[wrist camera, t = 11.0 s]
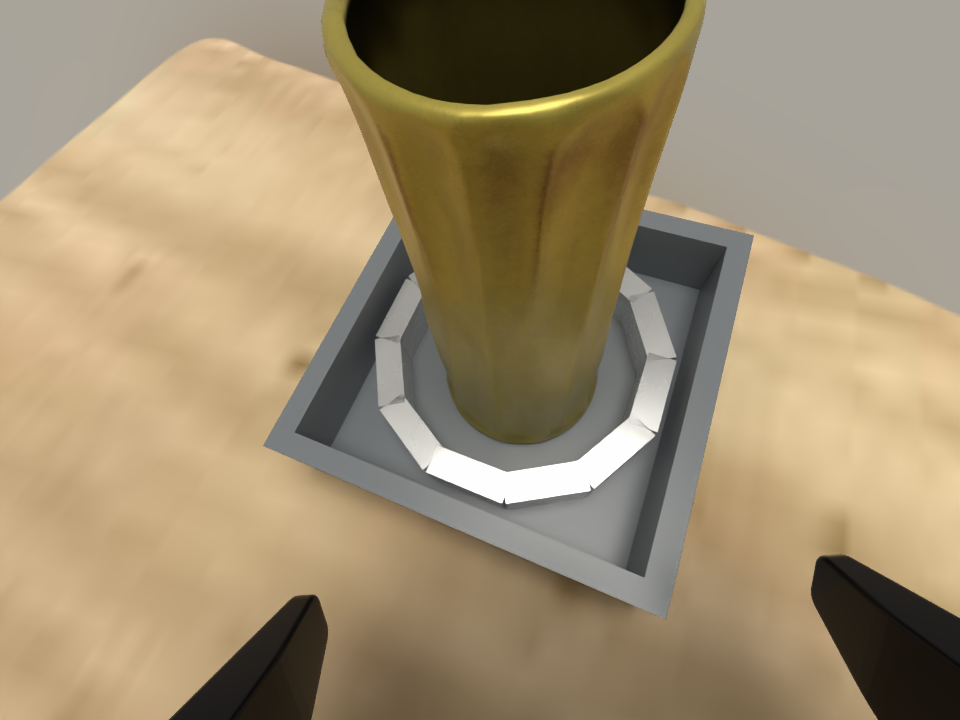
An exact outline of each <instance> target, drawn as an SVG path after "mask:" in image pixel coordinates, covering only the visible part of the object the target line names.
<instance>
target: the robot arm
mask: <svg viewBox="0 0 960 720" xmlns="http://www.w3.org/2000/svg"><path fill="white" fill-rule="evenodd" d="M811 596H812V600H813V603H814V605H815V607H816V609H817V611H818V613H819V615H820V617H821V618H822V620H823V622H824V624H825V626H826V628H827V630H828V632H829V633H830V635H831V637H832V639H833V641H834V643H835V645H836V646H837V648H838V650H839V652H840V654H841V656H842V658H843V660H844V661H845V663H846V665H847V667H848V669H849V671H850V673H851V674H852V676H853V678H854V680H855V682H856V684H857V686H858V687H859V689H860V691H861V693H862V694H863V696H864V698H865V700H866V701H867V703H868V705H869V706H870V708H871V709H872V711H873V713H874V714H875V716H876V717H877V719H878V720H960V618H959V617H957V616H955V615H953V614H952V613H950V612H948V611H946V610H944V609H943V608H941V607H939V606H937V605H935V604H934V603H932V602H930V601H928V600H926V599H925V598H923V597H921V596H919V595H918V594H916V593H914V592H912V591H910V590H909V589H907V588H905V587H903V586H901V585H900V584H898V583H896V582H894V581H892V580H891V579H889V578H887V577H885V576H883V575H882V574H880V573H878V572H876V571H874V570H873V569H871V568H869V567H867V566H865V565H864V564H862V563H860V562H858V561H856V560H855V559H853V558H851V557H849V556H846V555H842V554H838V555H825V556H820V557H819V558H818V559H817V561H816V565H815V570H814V576H813V581H812V587H811ZM327 639H328V626H327V622H326V619H325V616H324V613H323V610H322V607H321V604H320V601H319V599H318V597H317V596H316V595H300V596H295V597H293V598H292V599H290V600H289V601H288V602H287V603H286V604H285V605H284V606H283V607H282V608H281V609H280V610H279V611H278V612H277V613H276V614H275V615H274V616H273V617H272V618H271V619H270V620H269V621H268V622H267V623H266V624H265V625H264V626H263V627H262V628H261V629H260V630H259V631H258V632H257V633H256V634H255V635H254V636H253V637H252V638H251V639H250V640H249V641H248V642H247V643H246V644H245V645H244V646H243V647H242V648H241V649H240V650H239V651H238V652H237V653H236V654H235V655H234V656H233V657H232V658H231V659H230V660H229V661H228V662H227V663H226V664H225V665H224V666H223V667H222V668H221V669H220V670H219V671H218V672H217V673H216V674H215V675H214V676H213V677H212V678H210V679H209V680H208V681H207V682H206V683H205V684H204V685H203V686H202V687H201V688H200V689H199V690H198V691H197V692H196V693H195V694H194V695H193V696H192V697H191V698H190V699H189V700H188V701H187V702H186V703H185V704H184V705H183V706H182V707H181V708H180V709H179V710H178V711H177V712H176V713H175V714H174V715H173V716H172V717H171V718H170V719H169V720H311V718H312V713H313V709H314V704H315V699H316V694H317V689H318V684H319V679H320V674H321V669H322V664H323V659H324V654H325V649H326V644H327Z"/></svg>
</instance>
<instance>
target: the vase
mask: <svg viewBox="0 0 960 720" xmlns="http://www.w3.org/2000/svg"><path fill="white" fill-rule="evenodd" d="M705 7H706V0H325V5H324V9H323V14H322V19H321V24H322V37H323V46H324V50H325V54H326V57H327V59H328V62H329V64H330V66H331V68H332V70H333V72H334V74H335V75H336V77H337V79H338V81H339V83H340V84H341V86H342V88H343V91H344V93H345V95H346V97H347V99H348V102H349V104H350V106H351V109H352V111H353V113H354V115H355V118H356V120H357V123H358V125H359V128H360V130H361V133H362V135H363V138H364V140H365V143H366V146H367V148H368V151H369V154H370V156H371V159H372V162H373V164H374V167H375V170H376V172H377V175H378V178H379V180H380V183H381V186H382V188H383V191H384V194H385V196H386V199H387V202H388V204H389V207H390V209H391V212H392V214H393V217H394V219H395V222H396V224H397V227H398V229H399V232H400V234H401V237H402V240H403V243H404V246H405V248H406V251H407V254H408V256H409V259H410V262H411V264H412V267H413V270H414V273H415V276H416V279H417V282H418V285H419V288H420V292H421V296H422V301H423V307H424V311H425V315H426V318H427V322H428V325H429V328H430V331H431V333H432V336H433V338H434V341H435V344H436V348H437V351H438V354H439V356H440V358H441V361H442V363H443V365H444V367H445V369H446V371H447V375H446V379H447V383H448V387H449V391H450V394H451V396H452V399H453V401H454V403H455V405H456V407H457V409H458V411H459V412H460V413H461V415H462V416H463V417H464V418H465V419H466V420H467V421H468V422H469V423H470V424H471V425H472V426H473V427H475V428H476V429H477V430H479V431H480V432H482V433H483V434H485V435H487V436H489V437H491V438H494V439H496V440H499V441H503V442H508V443H519V444H525V443H537V442H541V441H545V440H548V439H551V438H554V437H556V436H558V435H560V434H561V433H563V432H565V431H566V430H568V429H569V428H571V427H572V426H573V425H574V424H575V423H576V422H577V421H578V420H579V419H580V418H581V417H582V416H583V415H584V413H585V412H586V410H587V409H588V407H589V405H590V403H591V401H592V398H593V396H594V393H595V389H596V385H597V379H598V368H599V366H600V363H601V359H602V357H603V353H604V349H605V346H606V341H607V337H608V333H609V329H610V325H611V320H612V316H613V313H614V310H615V307H616V303H617V300H618V296H619V292H620V288H621V285H622V281H623V277H624V274H625V270H626V266H627V263H628V259H629V256H630V252H631V249H632V245H633V242H634V238H635V235H636V232H637V228H638V225H639V222H640V219H641V215H642V212H643V209H644V206H645V203H646V200H647V197H648V193H649V190H650V187H651V184H652V181H653V178H654V174H655V172H656V168H657V166H658V163H659V160H660V157H661V154H662V151H663V148H664V145H665V142H666V139H667V136H668V133H669V130H670V127H671V124H672V121H673V118H674V115H675V113H676V110H677V107H678V104H679V101H680V98H681V95H682V92H683V89H684V86H685V82H686V80H687V76H688V73H689V69H690V66H691V62H692V58H693V55H694V51H695V48H696V44H697V40H698V38H699V34H700V31H701V28H702V24H703V20H704V14H705Z"/></svg>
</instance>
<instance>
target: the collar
mask: <svg viewBox="0 0 960 720" xmlns="http://www.w3.org/2000/svg"><path fill="white" fill-rule="evenodd" d="M408 277H409V279H405V281H404V283H403V285H402V287H401V289H400V291H399V293H398V295H397V297H396V298H395V300H394V302H393V304H392V306H391V308H390V310H389V312H388V314H387V315H386V317H385V319H384V321H383V323H382V325H381V327H380V329H379V331H378V333H377V334H376V337H377V339H375V351H376V370H377V389H378V407H379V408H380V411H381V413H382V414H383V415H384V417H385V418H386V419H387V421H388V422H389V424H390V425H391V426H392V428H393V429H394V431H395V432H396V433H397V435H398V436H399V438H400V439H401V440H402V442H403V443H404V444H405V446H406V447H407V449H408V450H409V451H410V453H411V454H412V456H413V457H414V458H415V460H416V461H417V463H418V464H419V465H420V467H421V468H422V469H423V470H424V471H425V472H426V473H427V474H428V475H429V476H431V477H432V478H433V479H434V480H436V481H437V482H439V483H442V484H444V485H447V486H449V487H452V488H454V489H457V490H459V491H461V492H464V493H466V494H469V495H471V496H474V497H476V498H478V499H481V500H483V501H486V502H488V503H491V504H493V505H496V506H498V507H500V508H503V509H505V507H506V505H507V507H508V510H510V509H516V508H523V507H529V506H535V505H542V504H548V503H554V502H561V501H567V500H574V499H580V498H584V497H585V496H586V495H587V496H588V495H589V494H590V493H592V492H593V491H594V490H595V489H596V488H597V487H599V486H600V485H601V484H602V483H603V482H604V481H605V480H607V479H608V478H609V477H610V476H611V475H612V474H614V473H615V472H616V471H617V470H618V469H619V468H620V467H622V466H623V465H624V464H625V463H626V462H627V461H628V460H630V459H631V458H632V457H633V456H634V455H635V454H637V453H638V452H639V451H640V450H641V449H642V448H643V447H644V446H645V445H646V444H647V443H648V442H649V441H650V440H651V439H652V438H653V437H655V434H656V433H657V432H658V429H659V425H660V421H661V418H662V414H663V410H664V406H665V403H666V399H667V395H668V391H669V388H670V384H671V380H672V376H673V373H674V369H675V365H676V362H677V361H676V360H675V359H676V354H675V351H674V348H673V345H672V342H671V340H670V337H669V334H668V331H667V328H666V325H665V322H664V319H663V316H662V313H661V310H660V307H659V305H658V302H657V299H656V296H655V293H654V292H651V290H652V288H651V287H649V286H648V285H647V284H646V283H645V282H644V281H642V280H641V279H640V278H639V277H638V276H637V275H635V274H634V273H633V272H632V271H631V270H630V269H629V268H627V267H626V270H625V274H624V277H623V281H622V285H621V288H620V292H619V296H618V300H617V303H616V307H615V310H614V313H613V316H612V317H613V318H614V319H615V320H616V321H617V322H618V323H619V324H620V325H621V329H622V332H623V335H624V339H625V342H626V345H627V349H628V352H629V356H630V359H631V362H632V366H633V369H634V372H635V376H636V378H635V381H634V385H633V388H632V391H631V395H630V398H629V401H628V405H627V408H626V411H625V415H624V418H623V422H622V424H621V425H620V426H619V427H617V428H616V429H615V430H614V431H613V432H612V433H610V434H609V435H608V436H607V437H606V438H604V439H603V440H602V441H601V442H600V443H599V444H597V445H596V446H595V447H594V448H593V449H591V450H590V451H589V452H588V453H587V454H586V455H584V456H583V457H582V458H581V459H580V460H578V461H576V462H570V463H563V464H557V465H551V466H544V467H538V468H532V469H526V470H519V471H513V472H504V471H502V470H499V469H497V468H494V467H492V466H489V465H487V464H484V463H481V462H479V461H476V460H474V459H471V458H469V457H466V456H463V455H461V454H458V453H456V452H453V451H451V450H448V449H446V448H443V447H442V446H441V444H440V443H439V442H438V440H437V439H436V438H435V436H434V435H433V434H432V433H431V431H430V430H429V429H428V427H427V426H426V425H425V423H424V422H423V421H422V419H421V418H420V417H419V415H418V414H417V412H416V400H415V389H414V377H413V366H412V358H413V356H414V354H415V352H416V350H417V348H418V346H419V344H420V342H421V340H422V338H423V336H424V334H425V332H426V330H427V328H428V326H429V325H428V322H427V318H426V315H425V311H424V307H423V301H422V296H421V292H420V288H419V285H418V282H417V279H416V276H415V273H412V274H411V275H409V276H408Z"/></svg>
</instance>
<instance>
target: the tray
mask: <svg viewBox="0 0 960 720" xmlns="http://www.w3.org/2000/svg"><path fill="white" fill-rule="evenodd" d="M753 237H754V235H750V234H745V233H741V232H737V231H733V230H728V229H724V228H720V227H715V226H711V225H707V224H703V223H698V222H694V221H690V220H685V219H681V218H677V217H673V216H668V215H664V214H660V213H655V212H651V211H647V210H643V212H642V215H641V219H640V222H639V225H638V228H637V232H636V235H635V238H634V242H633V245H632V249H631V252H630V256H629V259H628V263H627V266H626V267H627V268H629V269H630V270H631V271H632V272H633V273H634V274H635V275H637V276H638V277H639V278H640V279H641V280H642V281H644V282H645V283H646V284H647V285H648V286H649V287H651V288H652V290H651V292H654V293H655V296H656V299H657V302H658V305H659V307H660V310H661V313H662V316H663V319H664V322H665V325H666V328H667V331H668V334H669V337H670V340H671V342H672V345H673V348H674V351H675V354H676V359H675V360H676V361H677V362H676V365H675V369H674V373H673V376H672V380H671V384H670V388H669V391H668V395H667V399H666V403H665V406H664V410H663V414H662V418H661V421H660V425H659V429H658V432H657V433H656V434H655V437H653V438H652V439H651V440H650V441H649V442H648V443H647V444H646V445H645V446H644V447H643V448H642V449H641V450H640V451H639V452H638V453H637V454H635V455H634V456H633V457H632V458H631V459H630V460H628V461H627V462H626V463H625V464H624V465H623V466H622V467H620V468H619V469H618V470H617V471H616V472H615V473H614V474H612V475H611V476H610V477H609V478H608V479H607V480H605V481H604V482H603V483H602V484H601V485H600V486H599V487H597V488H596V489H595V490H594V491H593V492H592V493H590V494H589V495H588V496H587V495H586V496H585V497H584V498H580V499H574V500H567V501H561V502H554V503H548V504H542V505H535V506H529V507H523V508H516V509H510V510H508V507H507V505H506V507H505V509H503V508H500V507H498V506H496V505H493V504H491V503H488V502H486V501H483V500H481V499H478V498H476V497H474V496H471V495H469V494H466V493H464V492H461V491H459V490H457V489H454V488H452V487H449V486H447V485H444V484H442V483H439V482H437V481H436V480H434V479H433V478H432V477H431V476H429V475H428V474H427V473H426V472H425V471H424V470H423V469H422V468H421V467H420V465H419V464H418V463H417V461H416V460H415V458H414V457H413V456H412V454H411V453H410V451H409V450H408V449H407V447H406V446H405V444H404V443H403V442H402V440H401V439H400V438H399V436H398V435H397V433H396V432H395V431H394V429H393V428H392V426H391V425H390V424H389V422H388V421H387V419H386V418H385V417H384V415H383V414H382V413H381V411H380V408H379V407H378V389H377V370H376V351H375V339H377V337H376V334H377V333H378V331H379V329H380V327H381V325H382V323H383V321H384V319H385V317H386V315H387V314H388V312H389V310H390V308H391V306H392V304H393V302H394V300H395V298H396V297H397V295H398V293H399V291H400V289H401V287H402V285H403V283H404V281H405V279H409V277H408V276H409V275H411V274H412V273H414V270H413V267H412V264H411V262H410V259H409V256H408V254H407V251H406V248H405V246H404V243H403V240H402V237H401V234H400V232H399V229H398V227H397V224H396V222H395V219H394V217H393V219H392V221H391V222H390V224H389V226H388V228H387V229H386V231H385V233H384V235H383V236H382V238H381V240H380V242H379V243H378V245H377V247H376V249H375V250H374V252H373V254H372V256H371V257H370V259H369V261H368V263H367V264H366V266H365V268H364V270H363V271H362V273H361V275H360V277H359V278H358V280H357V282H356V284H355V285H354V287H353V289H352V291H351V292H350V294H349V296H348V298H347V299H346V301H345V303H344V305H343V306H342V308H341V310H340V312H339V313H338V315H337V317H336V319H335V321H334V322H333V324H332V326H331V328H330V329H329V331H328V333H327V335H326V336H325V338H324V340H323V342H322V343H321V345H320V347H319V349H318V350H317V352H316V354H315V356H314V357H313V359H312V361H311V363H310V364H309V366H308V368H307V370H306V371H305V373H304V375H303V377H302V378H301V380H300V382H299V384H298V385H297V387H296V389H295V391H294V392H293V394H292V396H291V398H290V399H289V401H288V403H287V405H286V406H285V408H284V410H283V412H282V413H281V415H280V417H279V419H278V420H277V422H276V424H275V426H274V427H273V429H272V431H271V433H270V434H269V436H268V438H267V440H266V441H265V443H264V445H263V446H265V447H267V448H270V449H272V450H274V451H277V452H279V453H281V454H283V455H286V456H288V457H290V458H293V459H295V460H297V461H300V462H302V463H304V464H307V465H309V466H311V467H314V468H316V469H318V470H321V471H323V472H325V473H328V474H330V475H332V476H334V477H337V478H339V479H341V480H344V481H346V482H348V483H351V484H353V485H355V486H358V487H360V488H362V489H365V490H367V491H369V492H372V493H374V494H376V495H378V496H381V497H383V498H385V499H388V500H390V501H392V502H395V503H397V504H399V505H402V506H404V507H406V508H409V509H411V510H413V511H416V512H418V513H420V514H423V515H425V516H427V517H429V518H432V519H434V520H436V521H439V522H441V523H443V524H446V525H448V526H450V527H453V528H455V529H457V530H460V531H462V532H464V533H467V534H469V535H471V536H474V537H476V538H478V539H480V540H483V541H485V542H487V543H490V544H492V545H494V546H497V547H499V548H501V549H504V550H506V551H508V552H511V553H513V554H515V555H518V556H520V557H522V558H524V559H527V560H529V561H531V562H534V563H536V564H538V565H541V566H543V567H545V568H548V569H550V570H552V571H555V572H557V573H559V574H562V575H564V576H566V577H569V578H571V579H573V580H575V581H578V582H580V583H582V584H585V585H587V586H589V587H592V588H594V589H596V590H599V591H601V592H603V593H606V594H608V595H610V596H613V597H615V598H617V599H620V600H622V601H624V602H626V603H629V604H631V605H633V606H636V607H638V608H640V609H643V610H645V611H647V612H650V613H652V614H654V615H657V616H659V617H661V618H664V619H667V614H668V610H669V605H670V601H671V597H672V592H673V588H674V584H675V579H676V575H677V570H678V566H679V562H680V557H681V553H682V548H683V544H684V540H685V535H686V531H687V526H688V522H689V518H690V513H691V509H692V505H693V500H694V496H695V491H696V487H697V483H698V478H699V474H700V469H701V465H702V461H703V456H704V452H705V447H706V443H707V439H708V434H709V430H710V425H711V421H712V417H713V412H714V408H715V404H716V399H717V395H718V390H719V386H720V382H721V377H722V373H723V368H724V364H725V360H726V355H727V351H728V346H729V342H730V338H731V333H732V329H733V325H734V320H735V316H736V311H737V307H738V303H739V298H740V294H741V289H742V285H743V281H744V276H745V272H746V267H747V263H748V259H749V254H750V250H751V245H752V241H753ZM412 366H413V377H414V389H415V400H416V412H417V414H418V415H419V417H420V418H421V419H422V421H423V422H424V423H425V425H426V426H427V427H428V429H429V430H430V431H431V433H432V434H433V435H434V436H435V438H436V439H437V440H438V442H439V443H440V444H441V446H442V447H443V448H446V449H448V450H451V451H453V452H456V453H458V454H461V455H463V456H466V457H469V458H471V459H474V460H476V461H479V462H481V463H484V464H487V465H489V466H492V467H494V468H497V469H499V470H502V471H504V472H513V471H519V470H526V469H532V468H538V467H544V466H551V465H557V464H563V463H570V462H576V461H578V460H580V459H581V458H582V457H583V456H584V455H586V454H587V453H588V452H589V451H590V450H591V449H593V448H594V447H595V446H596V445H597V444H599V443H600V442H601V441H602V440H603V439H604V438H606V437H607V436H608V435H609V434H610V433H612V432H613V431H614V430H615V429H616V428H617V427H619V426H620V425H621V424H622V422H623V418H624V415H625V411H626V408H627V405H628V401H629V398H630V395H631V391H632V388H633V385H634V381H635V378H636V376H635V372H634V369H633V366H632V362H631V359H630V356H629V352H628V349H627V345H626V342H625V339H624V335H623V332H622V329H621V325H620V324H619V323H618V322H617V321H616V320H615V319H614V318H613V317H612V320H611V325H610V329H609V333H608V337H607V341H606V346H605V349H604V353H603V357H602V359H601V363H600V366H599V368H598V379H597V385H596V389H595V393H594V396H593V398H592V401H591V403H590V405H589V407H588V409H587V410H586V412H585V413H584V415H583V416H582V417H581V418H580V419H579V420H578V421H577V422H576V423H575V424H574V425H573V426H572V427H571V428H569V429H568V430H566V431H565V432H563V433H561V434H560V435H558V436H556V437H554V438H551V439H548V440H545V441H541V442H537V443H525V444H519V443H508V442H503V441H499V440H496V439H494V438H491V437H489V436H487V435H485V434H483V433H482V432H480V431H479V430H477V429H476V428H475V427H473V426H472V425H471V424H470V423H469V422H468V421H467V420H466V419H465V418H464V417H463V416H462V415H461V413H460V412H459V411H458V409H457V407H456V405H455V403H454V401H453V399H452V396H451V394H450V391H449V387H448V383H447V379H446V375H447V371H446V369H445V367H444V365H443V363H442V361H441V358H440V356H439V354H438V351H437V348H436V344H435V341H434V338H433V336H432V333H431V331H430V328H429V326H428V328H427V330H426V332H425V334H424V336H423V338H422V340H421V342H420V344H419V346H418V348H417V350H416V352H415V354H414V356H413V358H412Z"/></svg>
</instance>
